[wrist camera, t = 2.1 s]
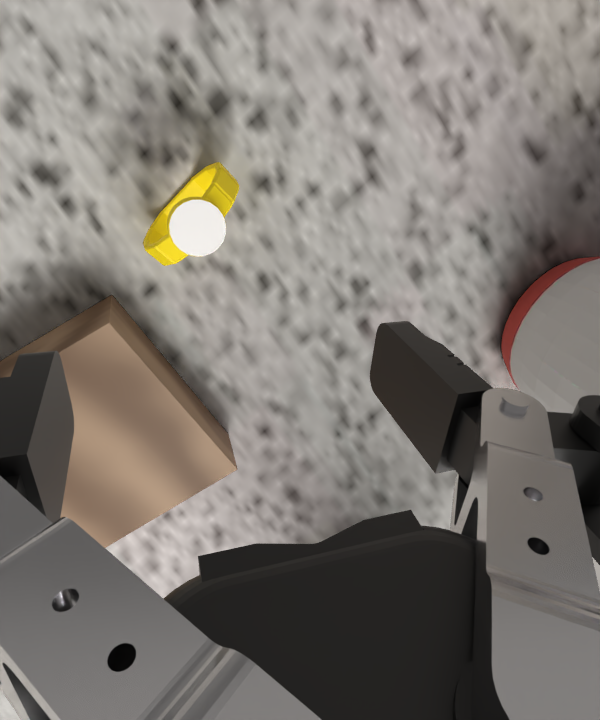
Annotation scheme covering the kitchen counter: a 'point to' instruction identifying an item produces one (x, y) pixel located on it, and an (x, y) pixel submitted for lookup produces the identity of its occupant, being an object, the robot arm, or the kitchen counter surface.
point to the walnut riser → (128, 425)
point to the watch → (193, 217)
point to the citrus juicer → (557, 336)
